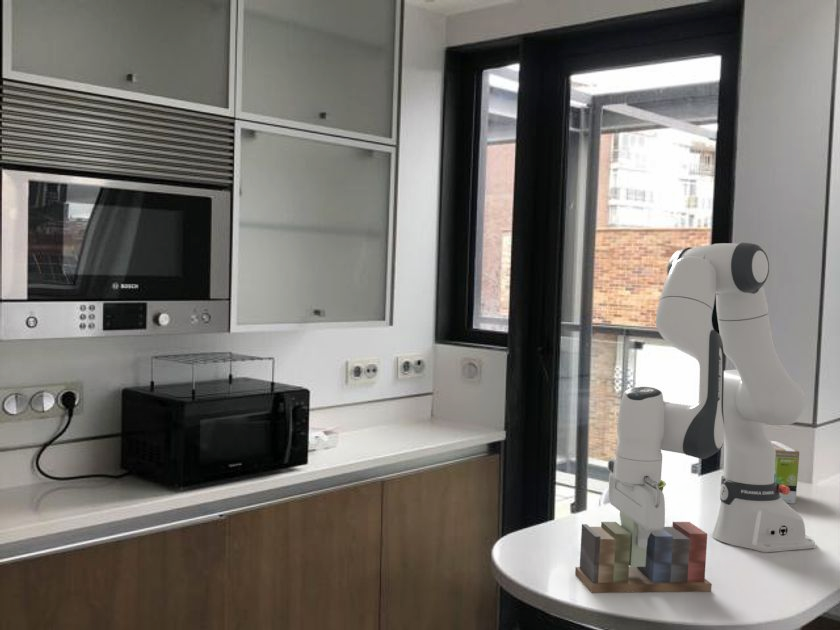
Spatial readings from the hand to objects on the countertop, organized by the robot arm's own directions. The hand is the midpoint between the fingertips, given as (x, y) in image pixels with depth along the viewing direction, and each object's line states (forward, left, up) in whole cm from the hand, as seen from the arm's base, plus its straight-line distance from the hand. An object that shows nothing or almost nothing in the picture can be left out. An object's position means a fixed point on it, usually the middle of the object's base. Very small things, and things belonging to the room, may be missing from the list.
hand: (633, 540), depth 174 cm
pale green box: (0, 0, -4) cm, 4 cm away
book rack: (-2, 0, -8) cm, 9 cm away
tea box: (-66, -66, -9) cm, 94 cm away
